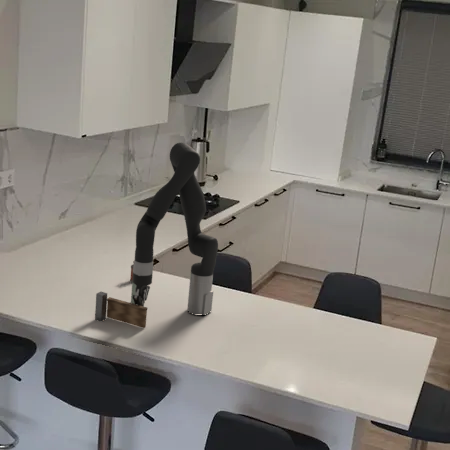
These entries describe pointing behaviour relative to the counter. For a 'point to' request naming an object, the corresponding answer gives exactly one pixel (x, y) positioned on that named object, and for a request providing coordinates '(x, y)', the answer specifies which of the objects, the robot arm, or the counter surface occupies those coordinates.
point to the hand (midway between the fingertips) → (139, 312)
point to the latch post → (133, 292)
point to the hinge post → (101, 306)
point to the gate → (126, 312)
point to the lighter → (131, 272)
